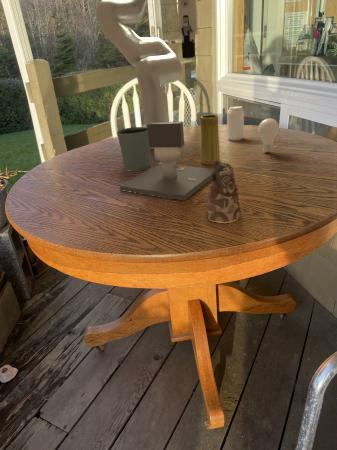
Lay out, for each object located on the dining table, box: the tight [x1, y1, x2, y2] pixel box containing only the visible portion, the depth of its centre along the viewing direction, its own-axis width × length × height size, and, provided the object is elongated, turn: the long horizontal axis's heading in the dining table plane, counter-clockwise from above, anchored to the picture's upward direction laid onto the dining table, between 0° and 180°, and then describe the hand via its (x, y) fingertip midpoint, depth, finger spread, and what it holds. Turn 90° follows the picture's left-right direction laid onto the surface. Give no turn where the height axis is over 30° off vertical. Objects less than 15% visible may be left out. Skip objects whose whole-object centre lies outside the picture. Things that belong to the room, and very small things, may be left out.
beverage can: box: [226, 105, 245, 142], centre depth 123 cm, size 6×6×12 cm
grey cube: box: [147, 121, 185, 162], centre depth 85 cm, size 9×9×9 cm
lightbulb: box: [257, 117, 280, 154], centre depth 104 cm, size 6×6×11 cm
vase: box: [200, 114, 221, 166], centre depth 100 cm, size 6×6×14 cm
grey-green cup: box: [116, 126, 151, 172], centre depth 103 cm, size 10×10×12 cm
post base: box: [119, 159, 214, 202], centre depth 89 cm, size 20×20×7 cm
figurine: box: [205, 160, 241, 222], centre depth 66 cm, size 7×7×12 cm
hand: (189, 57), depth 98 cm, fingers open, 9 cm apart
